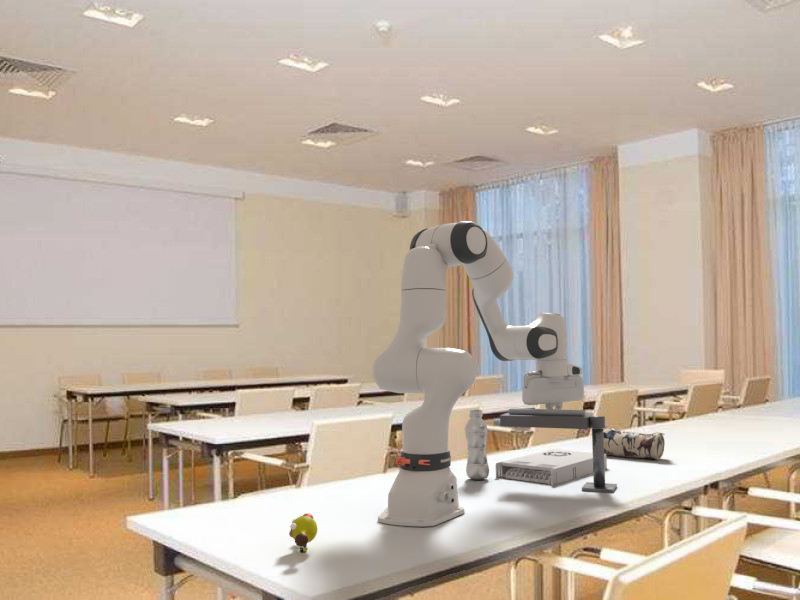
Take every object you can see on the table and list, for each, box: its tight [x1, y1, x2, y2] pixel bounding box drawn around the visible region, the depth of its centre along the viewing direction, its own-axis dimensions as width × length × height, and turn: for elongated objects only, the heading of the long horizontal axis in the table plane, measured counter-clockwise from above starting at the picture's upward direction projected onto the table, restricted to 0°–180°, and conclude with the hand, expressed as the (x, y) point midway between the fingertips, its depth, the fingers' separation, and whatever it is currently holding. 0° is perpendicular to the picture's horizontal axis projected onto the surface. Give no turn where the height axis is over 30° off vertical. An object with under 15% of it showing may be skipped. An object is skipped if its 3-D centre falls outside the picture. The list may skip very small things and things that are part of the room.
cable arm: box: [499, 408, 606, 430], centre depth 206 cm, size 28×8×5 cm, turn 65°
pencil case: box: [603, 425, 665, 460], centre depth 250 cm, size 22×8×10 cm, turn 48°
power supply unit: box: [495, 448, 608, 486], centre depth 225 cm, size 19×33×5 cm, turn 138°
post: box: [581, 428, 618, 494], centre depth 201 cm, size 8×8×16 cm
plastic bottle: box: [464, 409, 490, 481], centre depth 217 cm, size 6×7×20 cm
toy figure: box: [288, 513, 318, 553], centre depth 148 cm, size 18×6×7 cm, turn 3°
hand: (554, 418), depth 212 cm, fingers closed
